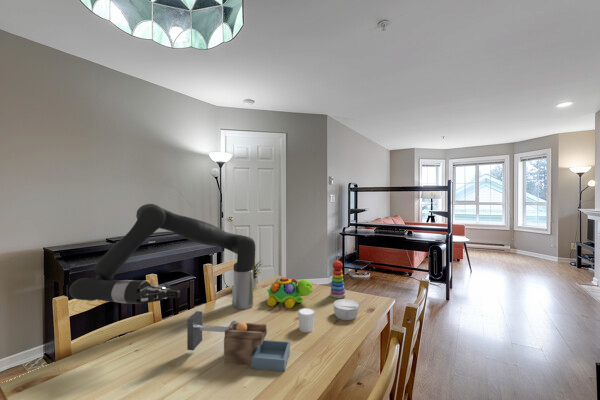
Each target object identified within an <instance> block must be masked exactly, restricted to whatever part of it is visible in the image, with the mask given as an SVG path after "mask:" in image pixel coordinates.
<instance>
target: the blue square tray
mask: <svg viewBox="0 0 600 400" xmlns="http://www.w3.org/2000/svg"><path fill="white" fill-rule="evenodd" d="M290 353H291V341H286V340H271V339H270V340H268V339H264V341H263V343H262V345H258V346H257V348H256V350H255V352H254V354H253V356H252V365H251V369H252V370H260V371H263V370H264V371H277V372H286V367H287V365H288V361H289V356H290Z"/></svg>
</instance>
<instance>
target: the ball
mask: <svg viewBox="0 0 600 400" xmlns="http://www.w3.org/2000/svg"><path fill="white" fill-rule="evenodd" d="M246 323H247V322H243V321H240V322H238V324H237V326H236V330H240V331H246V330H247V325H246Z"/></svg>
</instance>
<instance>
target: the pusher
mask: <svg viewBox="0 0 600 400" xmlns="http://www.w3.org/2000/svg"><path fill="white" fill-rule="evenodd" d="M231 322H232V323H231ZM231 322H230V324H229V325H228V326H219V325H218V326H217V325H205V324H204V325H203V311H202V310H201V311H199V310H196V311H195V312H193V314H191V316H189V317H188V318H187V320H186V327H187V333H186V334H187V335H186V337H187V339H186V343H187V351H194V350H195V349H196V348H197V347H198V346H199V345H200V344H201V342H203V332H219V333H225V330H236V322H237V320H232V321H231Z"/></svg>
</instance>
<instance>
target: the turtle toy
mask: <svg viewBox="0 0 600 400" xmlns="http://www.w3.org/2000/svg"><path fill="white" fill-rule="evenodd" d="M313 289H314V288H313V284H312V282H310V281H308V280H307V279H304V278H302V279H300V280H299V281H297V280H296V278H292V279H289V278H288V277H279V278H276V280H275V281H274V282H273V283H271V285H270V287H269V288H267V289H266V291H267V293H268V296H269V297H268V298H267V300H266V301H267V302H266V303H267V305H268V306H269V307H274V306H276V305H277V304H278V303H281V304H284V306H285V307H286V308H287V309H292V308H293V307H294V306H295V304H296V303H302V302H303V301H304V300H303V297H307V296H310V294H312V293H313V291H314V290H313Z"/></svg>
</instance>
